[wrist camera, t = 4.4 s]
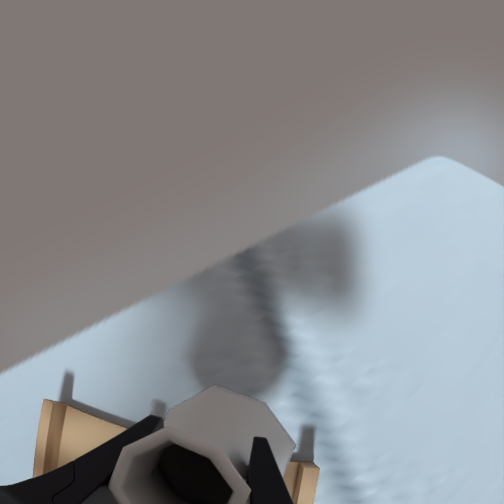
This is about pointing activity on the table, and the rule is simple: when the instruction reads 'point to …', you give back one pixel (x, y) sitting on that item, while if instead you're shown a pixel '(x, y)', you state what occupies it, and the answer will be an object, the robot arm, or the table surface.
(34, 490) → the robot arm
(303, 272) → the table surface
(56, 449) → the rack
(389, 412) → the table surface
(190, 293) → the table surface
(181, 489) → the flask
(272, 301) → the table surface
